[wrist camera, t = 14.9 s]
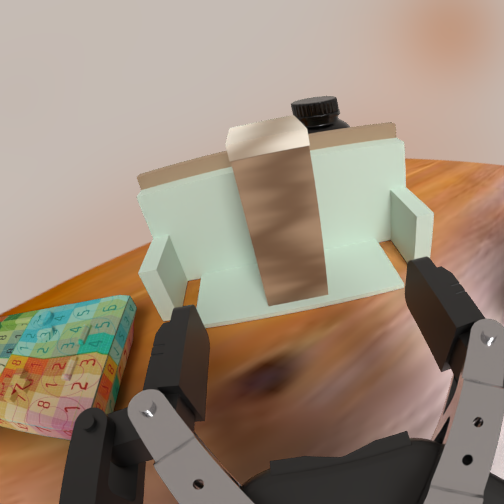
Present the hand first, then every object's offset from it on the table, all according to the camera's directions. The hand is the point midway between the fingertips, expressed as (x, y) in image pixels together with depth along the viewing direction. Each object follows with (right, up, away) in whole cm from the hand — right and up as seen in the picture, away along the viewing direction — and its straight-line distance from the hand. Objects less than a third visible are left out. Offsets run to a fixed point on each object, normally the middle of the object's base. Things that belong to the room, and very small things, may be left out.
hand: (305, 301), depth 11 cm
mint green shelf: (+2, 0, +15) cm, 15 cm away
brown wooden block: (+1, 0, +14) cm, 14 cm away
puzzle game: (-20, -10, +10) cm, 24 cm away
